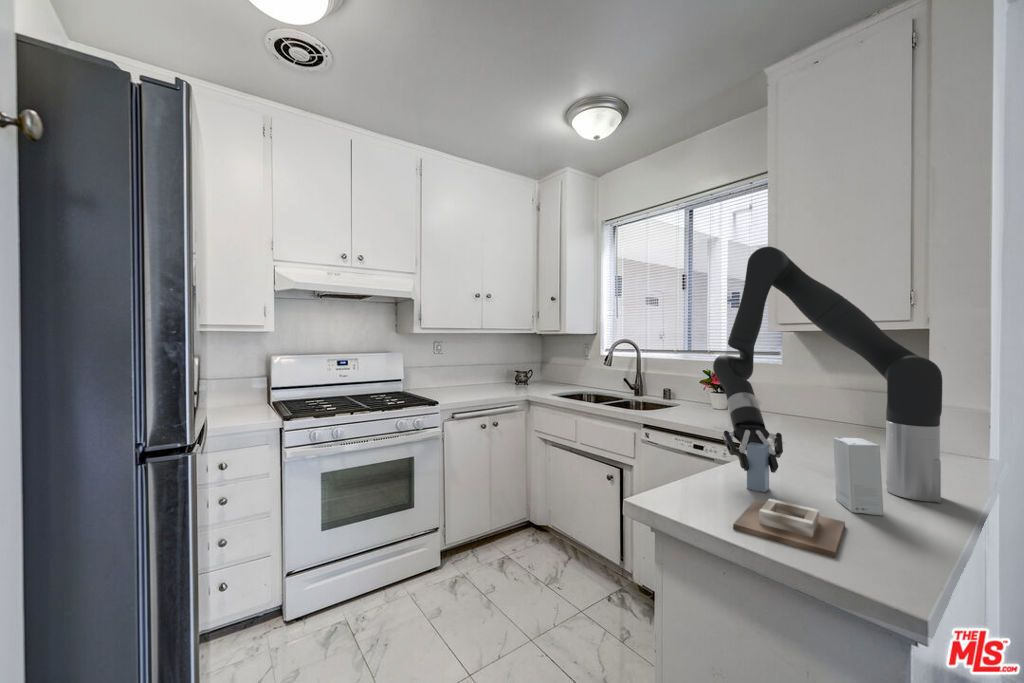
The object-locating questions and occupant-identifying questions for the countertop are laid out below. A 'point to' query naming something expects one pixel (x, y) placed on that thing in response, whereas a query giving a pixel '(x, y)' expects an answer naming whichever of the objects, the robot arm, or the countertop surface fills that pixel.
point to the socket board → (792, 526)
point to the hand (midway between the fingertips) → (760, 470)
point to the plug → (758, 466)
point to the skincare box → (858, 475)
